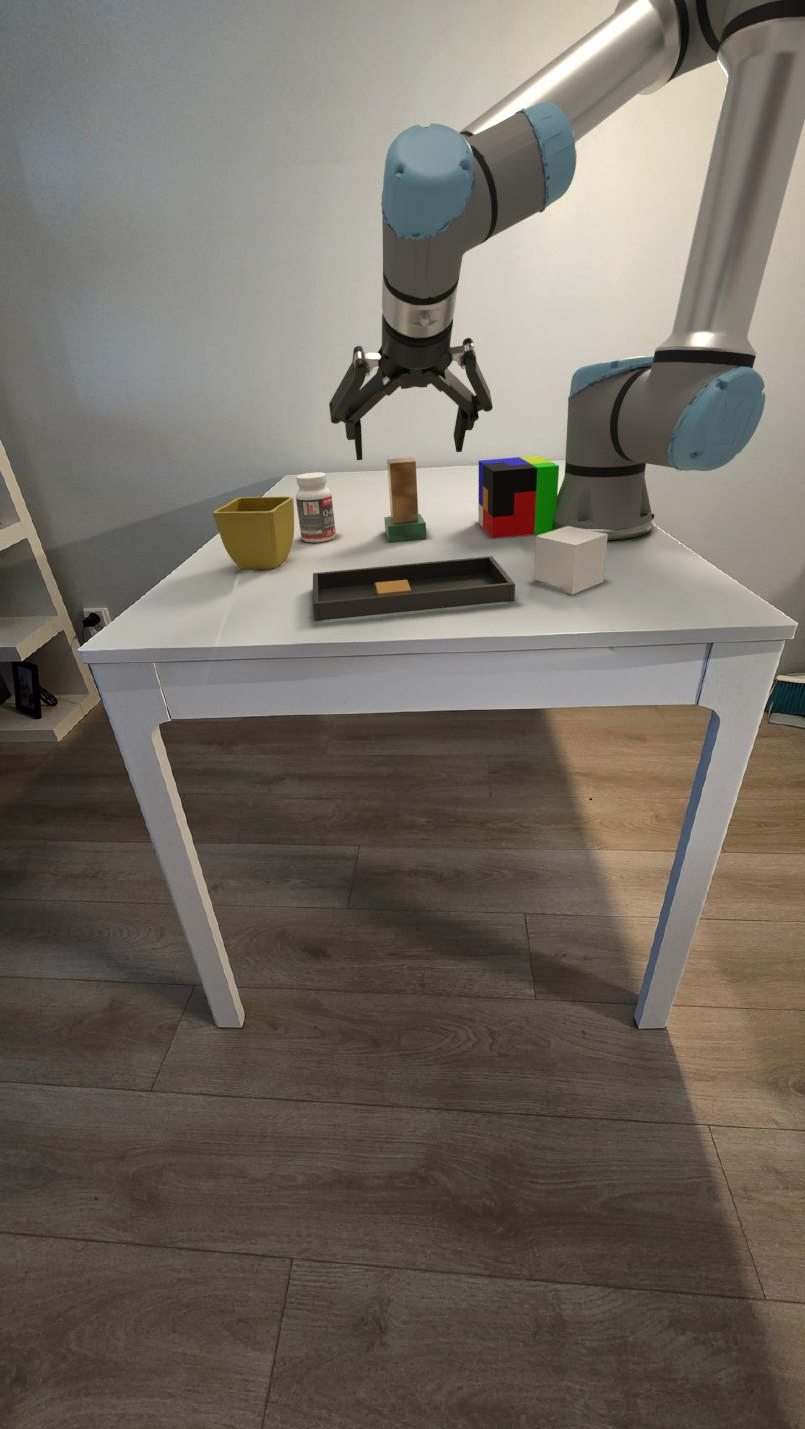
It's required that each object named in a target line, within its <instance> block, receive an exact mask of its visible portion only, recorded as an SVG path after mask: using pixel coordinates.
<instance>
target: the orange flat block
mask: <svg viewBox="0 0 805 1429" xmlns="http://www.w3.org/2000/svg"><path fill="white" fill-rule="evenodd" d="M375 587H376V594H377V596H381V595H391V594H402V593H411V589H410V586H409V584H408V581H407V580H398V581H387V582H377V583H375Z"/></svg>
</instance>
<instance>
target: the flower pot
mask: <svg viewBox="0 0 805 1429" xmlns="http://www.w3.org/2000/svg"><path fill="white" fill-rule="evenodd" d="M294 503H295V502H294V497H293V496H243V497H242V496H241V497H237V498H235V499H233V500H231V501H230V502H228V503H226V504H225V505H223V506H221V507H219V508H217V509H215V510H214V511H213V512H212V515H213V519H214V522H215V524H216V527H217V530H218V534H219V537H220V539H221V541H222V545H223V546H224V547H223V548H224V549H225V551H226V552H227V554H228V556H229V557H230V559H231V560H232V561H233V562H234V564H236V565H237V567H239V569H240V570H274V569H277V568H278V567H279V566H280V565H281V564H282V563H283V562H285V561H286V560H287V559H288V557H289V555H290V552H291V549H292V546H293V542H294V535H295V506H294V505H295V504H294Z"/></svg>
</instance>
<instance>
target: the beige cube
mask: <svg viewBox="0 0 805 1429" xmlns="http://www.w3.org/2000/svg"><path fill="white" fill-rule="evenodd" d="M607 538H608V534H605V533H600V532H595V531H590V530H585V529H580V528H576V527H571V526H566V527H563V528H560V529H557V530H554V531H551V532H547V533H543V534H537V535H536V536H535V550H534V551H535V552H534V569H533V570H534V571H533V572H534V573H533V580H534V581H539V582H541V583H545V584H548V585H552V586H555V587H559V589H561V590H562V591H563V592H564V593H565V594H569V595H571V596H572V595H575V594H577V593H580V592H583V591H585V590H588V589H590V588H592V587H594V586H597V585H599V584H602V583H604V578H605V568H606V567H605V566H606V557H607V556H606V555H607V548H608V547H607V546H608V540H607Z"/></svg>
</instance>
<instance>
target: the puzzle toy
mask: <svg viewBox="0 0 805 1429" xmlns="http://www.w3.org/2000/svg"><path fill="white" fill-rule="evenodd" d="M559 475H560V464H557V463H555V462H553V461H551V460H549V459H547V458H545V457H543V456H541V455H530V456H529V455H528V456H518V457H517V456H516V457H505V458H493V459H480V460H478V524H479V525H480V526H481V527H482V528H483V529H484V530H485V532H486V533H487V534H488V535H489V536H490V537H491V539H498V538H500V539H501V538H510V537H519V536H531V535H541V534H544V533H547V532H551V531H552V521H553V517H554V514H555V511H556V509H557V495H558V493H559Z"/></svg>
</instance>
